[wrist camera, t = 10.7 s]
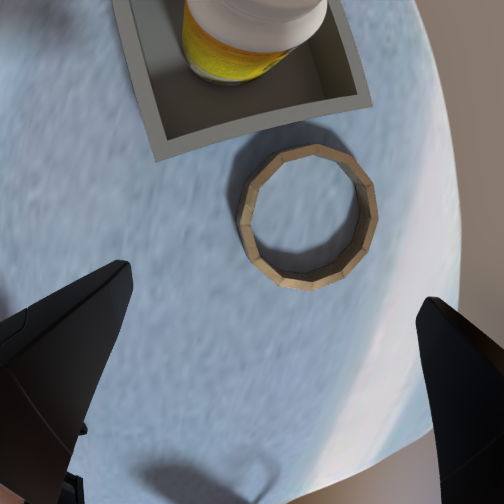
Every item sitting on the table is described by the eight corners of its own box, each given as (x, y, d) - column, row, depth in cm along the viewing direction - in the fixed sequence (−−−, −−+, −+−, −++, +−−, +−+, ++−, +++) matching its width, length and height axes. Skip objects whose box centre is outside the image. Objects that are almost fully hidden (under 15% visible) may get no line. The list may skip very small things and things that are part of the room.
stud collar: (259, 298, 22) (264, 308, 21) (219, 168, 19) (223, 169, 18) (373, 255, 23) (384, 261, 22) (351, 133, 20) (363, 133, 19)
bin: (161, 159, 18) (155, 162, 14) (117, -1, 14) (105, -33, 10) (336, 112, 19) (373, 106, 15) (288, -33, 15) (311, -64, 11)
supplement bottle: (253, 102, 18) (327, 60, 8) (165, 69, 16) (156, -10, 7) (286, 29, 17) (372, -44, 7) (205, -4, 15) (234, -107, 5)
